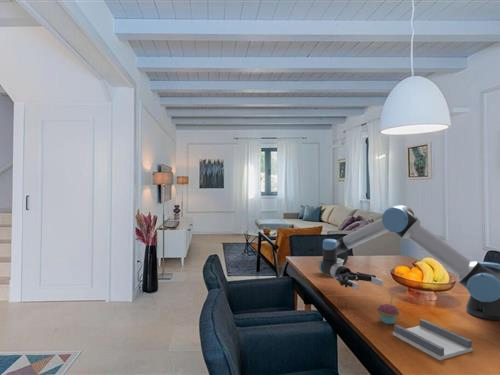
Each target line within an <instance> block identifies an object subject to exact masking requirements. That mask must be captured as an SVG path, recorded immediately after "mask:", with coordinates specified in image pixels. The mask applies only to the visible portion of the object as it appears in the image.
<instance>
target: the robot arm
mask: <svg viewBox="0 0 500 375" xmlns="http://www.w3.org/2000/svg"><path fill="white" fill-rule="evenodd" d="M388 232H391V233H395V234H396V235H398V236H399V237H400V238H401V239H407V240H409V241H410V242H412V243H413V244H414V245H416V246H417V247H419V249H421V250H422V251H423V252H424V253H426V254H428V256H430V257H431V258H433V259H434V261H436V262H438V263H439V264H440V265H442V266H443V267H444V268H446V270H447V271H450V272H451V273H452V274H453V275H455V277H456V280H457V282H458V283H459V284H460V285H461V286H463V287H464V288H465V289H466V290H467V291H468V293H469V298H468V301H467V303H466V305H465V311H466V313H467V314H469V315H470V316H473V317H477V318H479V319H484V320H489V321H500V263H496V262H490V261H488V262H487V261H479V260H478V261H477V260H474V261H472V260H470V259H468V258H467V257H466V256H465V255H463V254H462V253H461V252H459V251H458V250H456V249H455V248H453V247H452V246H451V245H449V244H448V243H447V242H445V241H444V240H443V239H441V237H439V236H437V235H436V234H434V233H433V232H431V231H430V230H429V229H428V228H426V227H425V226H424V225H422V224H421V219H420V218H418V217H417V216H416V215H415V213H414V211H413V210H412V209H411V207H409V206H406V205H403V204H400V205H399V204H397V205H393V206H390V207H388V208H387V209H385V210H384V212H383V213H382V216H381V218H379V219H378V220H375V221H373V222H371V223H369V224H367V225H365V226H363V227H360V228H359V229H357V230H355V231H352V232H350V233H349V234H346V235H345V236H342V237H340V238H338V239H333V238H324V239H323V240H322V260H321V261H320V262H319V265H318V270H319V271H320V272H321V273H322V274H324V275H326V276H329V277H331V278H334V279H335V280H336V281H337V282H338V284H339V285H340V286H342V287H345V288H348V287H350V288H352V289H355V290H356V291H360V283H357V282H359V281H363V282H369V283H370V282H371V283H372V284H375V285H377V286H378V287H383V286H384V282H383V280H382V279H380V278H377V276H376V275H374V274H370V273H369V274H368V273H363V272H360V271H357V272H353V271H351V269H350V268H348V267H347V266H344V265H343V266H342V265H339V264H337V255H338V254H340V253H343V252H345V251H346V252H347V251H349V250H351V249H352V248H355V247H358V246H360V245H361V244H364V243H366V242H368V241H370V240H373V239H375V238H377V237H379V236H381V235H384V234H386V233H388Z"/></svg>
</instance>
